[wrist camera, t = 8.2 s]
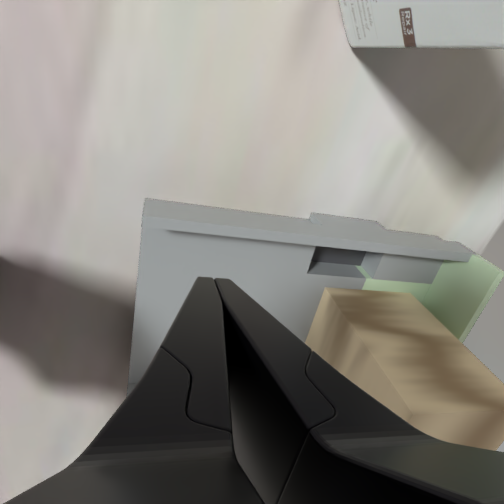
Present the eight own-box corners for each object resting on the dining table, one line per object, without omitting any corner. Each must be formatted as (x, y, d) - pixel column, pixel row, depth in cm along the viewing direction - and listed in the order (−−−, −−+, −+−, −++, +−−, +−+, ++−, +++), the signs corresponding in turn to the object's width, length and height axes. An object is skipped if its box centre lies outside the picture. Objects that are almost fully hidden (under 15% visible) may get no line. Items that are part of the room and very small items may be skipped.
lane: (129, 368, 27) (121, 442, 22) (145, 190, 21) (139, 235, 16) (372, 368, 33) (410, 427, 28) (440, 230, 27) (505, 272, 22)
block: (304, 343, 27) (372, 482, 18) (325, 287, 24) (412, 414, 16) (385, 345, 29) (480, 470, 20) (410, 292, 26) (529, 408, 18)
